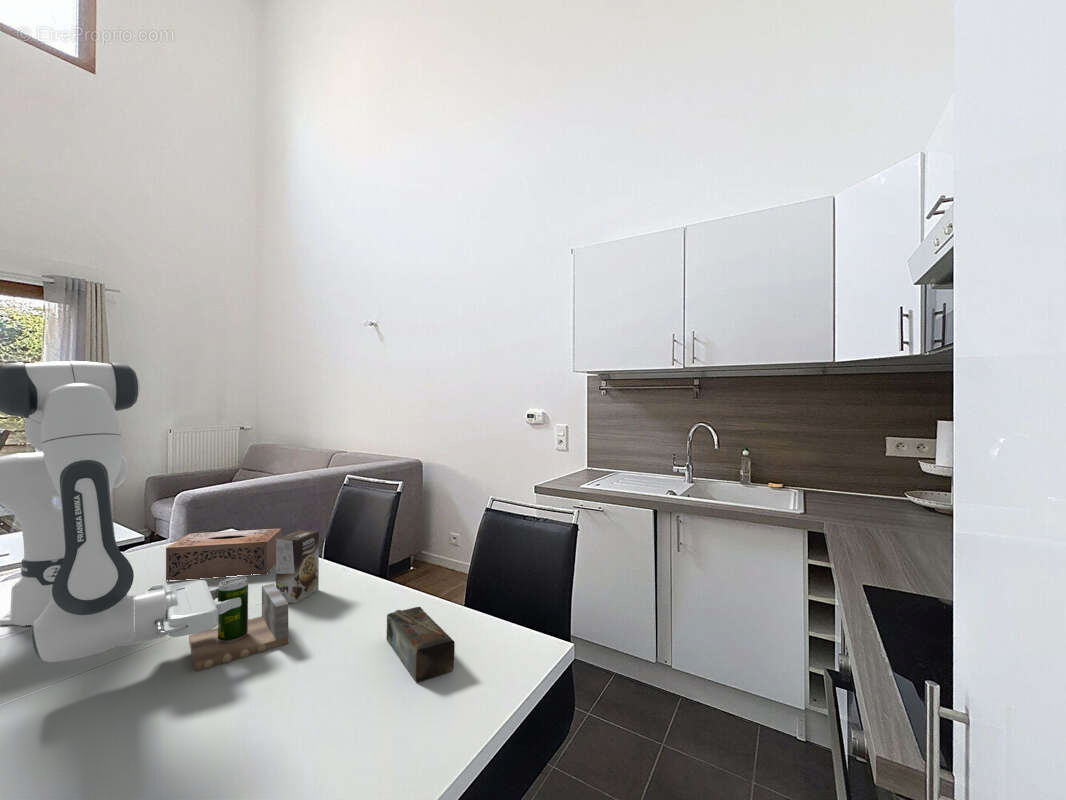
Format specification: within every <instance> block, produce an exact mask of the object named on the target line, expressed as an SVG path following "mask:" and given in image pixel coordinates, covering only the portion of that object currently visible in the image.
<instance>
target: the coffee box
mask: <svg viewBox="0 0 1066 800" xmlns="http://www.w3.org/2000/svg"><path fill="white" fill-rule="evenodd" d="M319 548H320V531H319V530H301V529H299V530H297V531H294V532H292V533H289V534H286V535H284V536H281V538H278V539H276V565H275V586H276V588H277V589H278V590H279V592H280V593H281V594H282V596H283V597H284V598H285V600H286V601H287V602H288V604H289V603H290V604H298V603H299V602H301V601H303V600H304V599H305V597H306V598H307V597H309V596H310V594H311V595H312V594H314V593H316V592H318V591H319V578H320V577H319V576H320V575H319V574H320V573H319V572H320V571H319V569H320V568H319V567H320V566H319V565H320V564H319V563H320V560H319V559H320V557H319V556H320V553H319V552H320V551H319V550H320V549H319ZM315 591H316V592H315ZM313 592H314V593H313ZM308 595H309V596H308Z"/></svg>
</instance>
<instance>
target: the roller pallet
mask: <svg viewBox="0 0 1066 800" xmlns="http://www.w3.org/2000/svg"><path fill="white" fill-rule="evenodd" d="M188 640H189V641H188V642H189V648H190V652H191V656H192V660H193V661H192V662H193V665H194V670H195V672H199V671H203V670H205V669H207V670H208V669H210V668H212V667H215V666H219V665H221V664H222V665H223V664H228V663H229V662H231V661H235V659H236V660H238V658H239V659H242V658H243V659H244V657H245V658H247V657H248V655H249V656H251V655H250V654H252V655H255V654H258V653H257V652H259V653H264V652H266V651H269V650H271V649H274V648H278V647H281V645H282V646H284V645H289V603H288V602H287V601H286V600H285V598H284V597H283V596H282V594H281V593H280V592H279V590H278V589H277V588H276V584H274V583H270V584H265V585H262V586H261V616H257V617H254V618H248V632H247V634H246V636H245V637H244V638H243V639H241V640H239V641H237V642H233V643H221V642H220V641H219V639H218V626H216V627H215V628H213V629H211V630H208V631H204V632H200V633H195V634H190V635H188ZM268 649H269V650H268ZM254 653H255V654H254Z"/></svg>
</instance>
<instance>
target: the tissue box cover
mask: <svg viewBox="0 0 1066 800" xmlns="http://www.w3.org/2000/svg"><path fill="white" fill-rule="evenodd" d="M281 537H282V528H267V529H264V528H262V529H247V530H245V529H244V530H229V531H227V530H225V531H209V532H193V533H192V532H191V533H189V534H187V535H184V536H183V537H182V538H180V539H178V540H176V541H174V542H173V543H171V544H169V545H168V546H166V547H165V582H166V581H167V580H168V581H169V580H186V579H200V578H213V577H226V576H237V575H251V574H252V575H253V574H267V573H268V572H269V571H270V570H273V568H274V567H275V566H276V565H275V564H276V539H278V538H281ZM274 565H275V566H274ZM273 566H274V567H273ZM270 572H271V571H270ZM270 572H269V573H270ZM269 573H268V574H269ZM268 574H267V575H268Z"/></svg>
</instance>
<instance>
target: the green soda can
mask: <svg viewBox="0 0 1066 800" xmlns="http://www.w3.org/2000/svg"><path fill="white" fill-rule="evenodd" d="M217 588H218V598H217V602H219V601H221V602H223V601H226V600H229V599H230V598H231V597H236V596H240V598H241V606H240V607H236V608H232V609H230V610H228V611H226V612H224V613H223V614H219V615H218V625H217V627H218V639H219V641H220V642H221V643H233V642H237V641H239V640H241V639H243V638H244V637H245V636H246V634H247V632H248V619H249V582H248V578H247V576H237V577H229V578H223V580H220V581H219V585H218V587H217Z"/></svg>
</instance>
